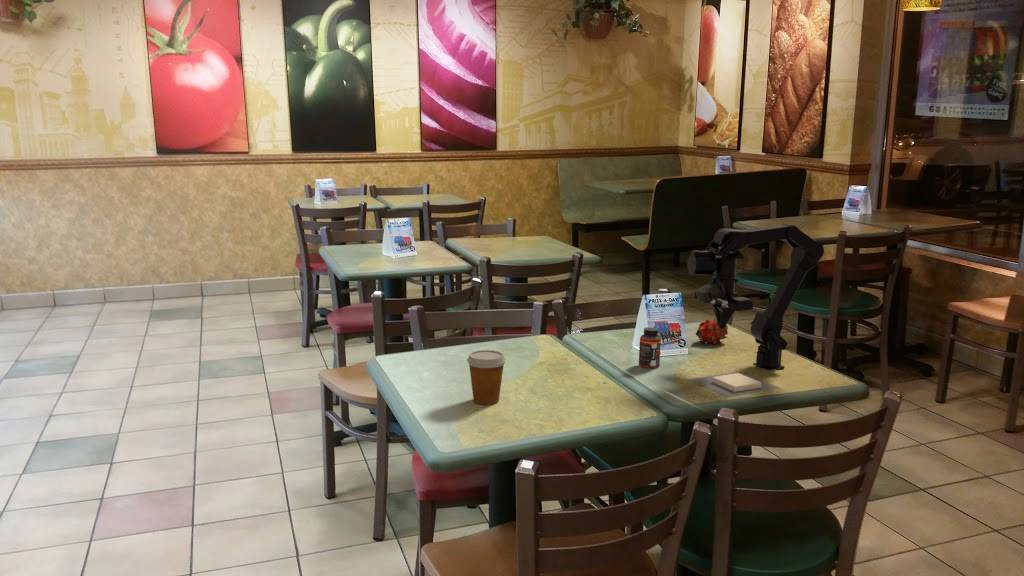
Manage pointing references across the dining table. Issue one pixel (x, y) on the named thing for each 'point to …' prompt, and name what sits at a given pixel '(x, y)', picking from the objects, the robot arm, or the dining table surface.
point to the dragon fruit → (711, 331)
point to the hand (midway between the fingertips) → (721, 328)
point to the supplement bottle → (649, 348)
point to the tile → (736, 382)
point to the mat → (726, 392)
